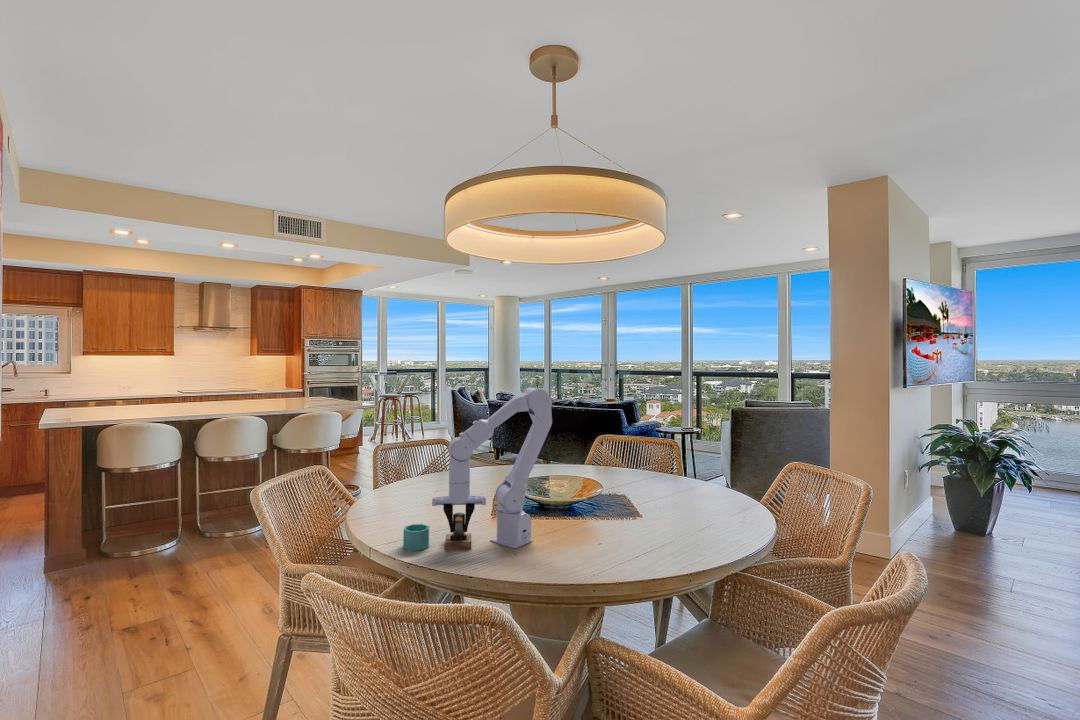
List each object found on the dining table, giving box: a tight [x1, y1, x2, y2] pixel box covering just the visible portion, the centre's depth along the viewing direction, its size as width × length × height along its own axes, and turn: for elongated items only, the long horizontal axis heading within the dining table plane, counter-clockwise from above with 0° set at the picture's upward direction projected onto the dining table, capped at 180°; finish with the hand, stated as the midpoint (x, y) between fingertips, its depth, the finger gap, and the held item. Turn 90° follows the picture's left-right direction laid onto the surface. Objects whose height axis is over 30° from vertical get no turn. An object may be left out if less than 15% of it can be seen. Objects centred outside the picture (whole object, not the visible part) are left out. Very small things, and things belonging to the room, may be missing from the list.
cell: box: [452, 511, 466, 541], centre depth 147 cm, size 3×3×8 cm
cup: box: [402, 523, 430, 552], centre depth 146 cm, size 7×7×5 cm
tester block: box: [444, 533, 472, 551], centre depth 147 cm, size 7×7×2 cm
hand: (458, 531), depth 147 cm, fingers closed on cell, 3 cm apart
